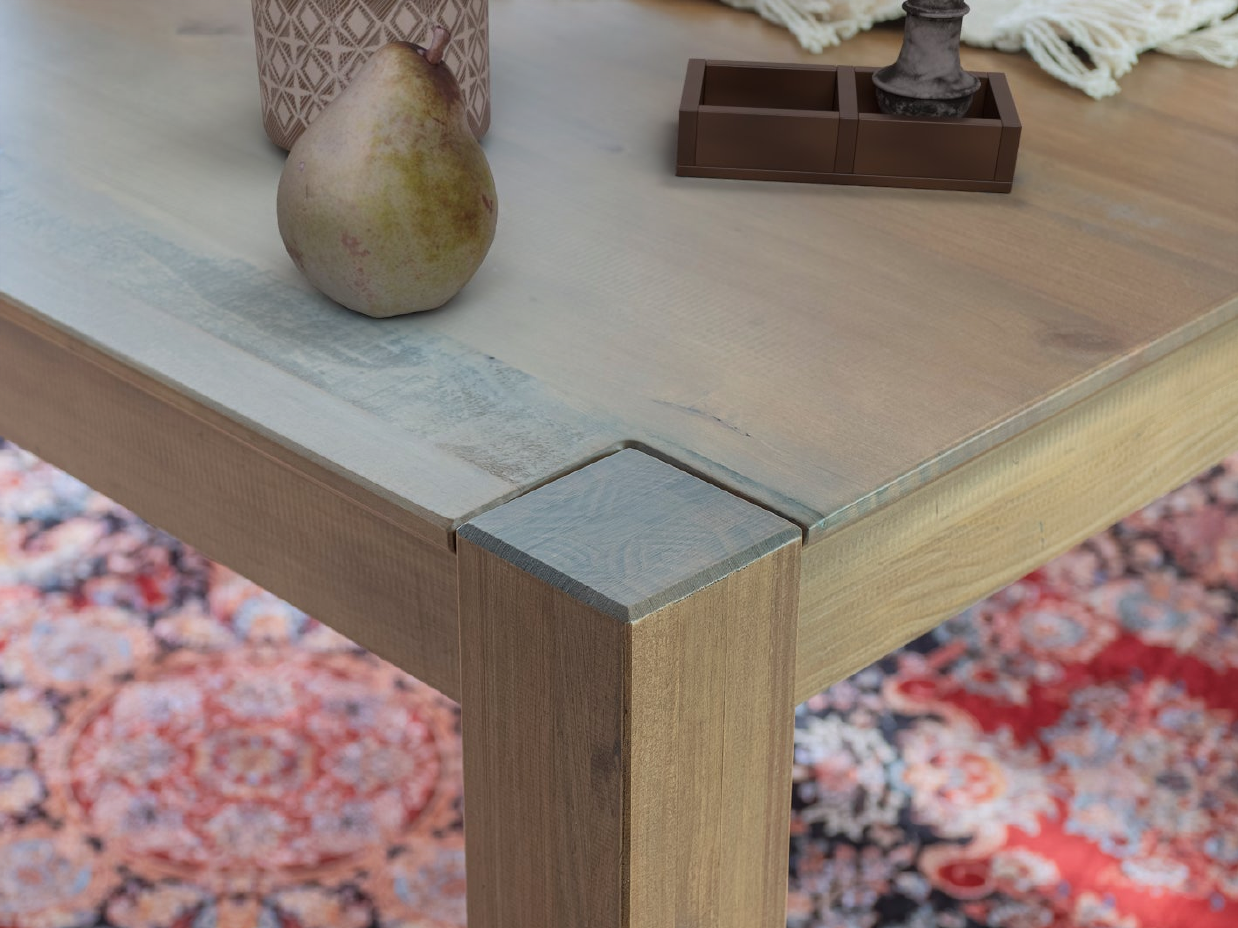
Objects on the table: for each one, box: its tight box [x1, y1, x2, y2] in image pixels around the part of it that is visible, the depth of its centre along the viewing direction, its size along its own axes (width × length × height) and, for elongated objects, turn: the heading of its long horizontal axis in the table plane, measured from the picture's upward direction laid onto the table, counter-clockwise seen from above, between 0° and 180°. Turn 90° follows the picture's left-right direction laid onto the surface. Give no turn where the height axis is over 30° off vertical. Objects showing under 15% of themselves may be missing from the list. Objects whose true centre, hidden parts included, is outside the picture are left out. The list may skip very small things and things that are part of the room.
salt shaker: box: [872, 0, 981, 118], centre depth 89 cm, size 6×6×12 cm
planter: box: [250, 0, 491, 152], centre depth 91 cm, size 13×13×10 cm
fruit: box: [276, 25, 499, 319], centre depth 73 cm, size 10×9×12 cm
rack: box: [675, 57, 1023, 194], centre depth 92 cm, size 18×10×4 cm, turn 84°
